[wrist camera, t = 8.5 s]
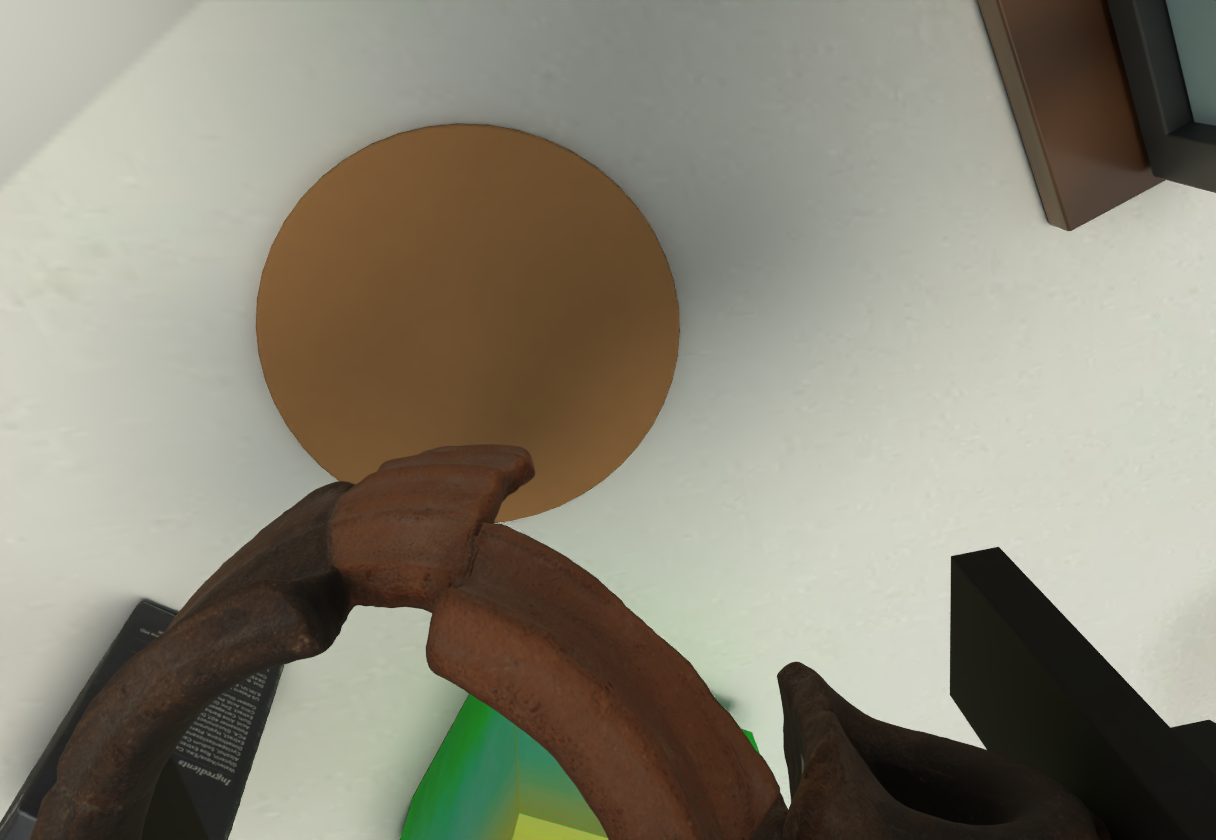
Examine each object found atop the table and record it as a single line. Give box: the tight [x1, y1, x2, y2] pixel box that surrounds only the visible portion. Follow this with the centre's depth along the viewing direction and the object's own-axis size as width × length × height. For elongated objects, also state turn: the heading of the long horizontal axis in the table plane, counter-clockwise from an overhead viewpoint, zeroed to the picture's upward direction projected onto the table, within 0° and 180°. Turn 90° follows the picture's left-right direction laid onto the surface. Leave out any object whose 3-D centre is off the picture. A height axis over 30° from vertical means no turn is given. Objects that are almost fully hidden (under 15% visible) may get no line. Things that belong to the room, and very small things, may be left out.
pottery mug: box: [29, 444, 1111, 840], centre depth 12 cm, size 12×10×8 cm
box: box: [0, 602, 284, 840], centre depth 30 cm, size 9×6×10 cm, turn 145°
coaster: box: [256, 124, 680, 523], centre depth 30 cm, size 13×13×1 cm
